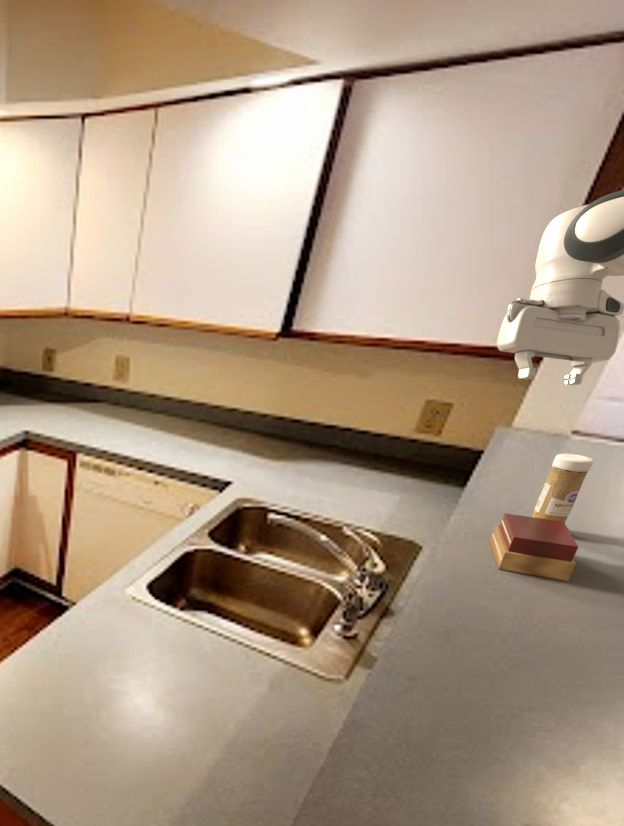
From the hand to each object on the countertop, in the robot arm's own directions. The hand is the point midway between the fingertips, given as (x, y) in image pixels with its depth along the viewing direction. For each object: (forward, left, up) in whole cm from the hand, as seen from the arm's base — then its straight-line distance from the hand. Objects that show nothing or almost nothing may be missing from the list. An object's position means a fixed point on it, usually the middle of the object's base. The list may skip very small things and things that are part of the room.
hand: (549, 381), depth 112 cm
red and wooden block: (0, +30, -23) cm, 38 cm away
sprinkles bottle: (-4, +14, -23) cm, 28 cm away
